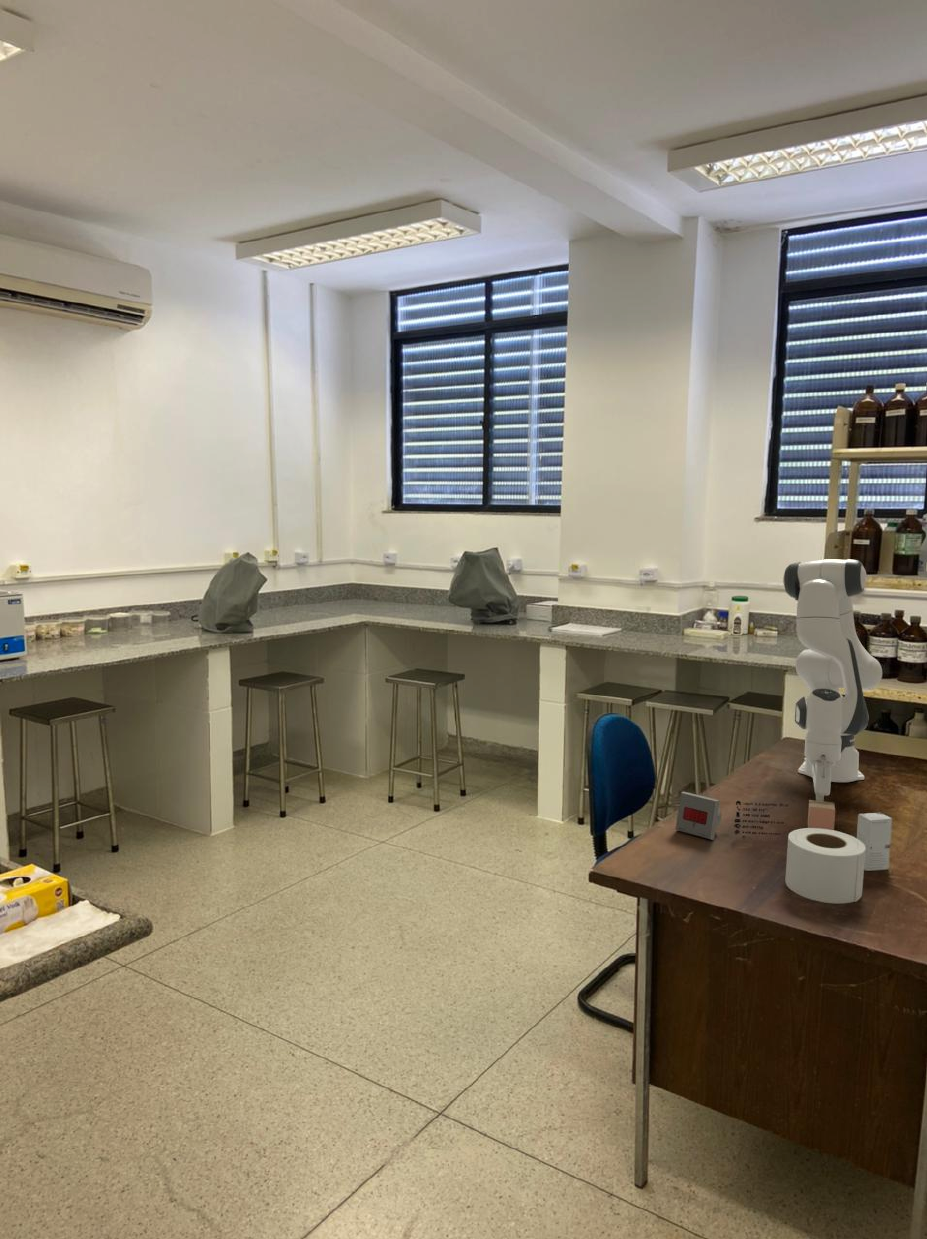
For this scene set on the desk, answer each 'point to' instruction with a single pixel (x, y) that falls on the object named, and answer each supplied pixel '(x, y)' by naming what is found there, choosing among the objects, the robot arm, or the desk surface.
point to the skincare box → (875, 839)
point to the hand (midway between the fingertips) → (819, 801)
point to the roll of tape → (825, 865)
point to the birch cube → (821, 815)
